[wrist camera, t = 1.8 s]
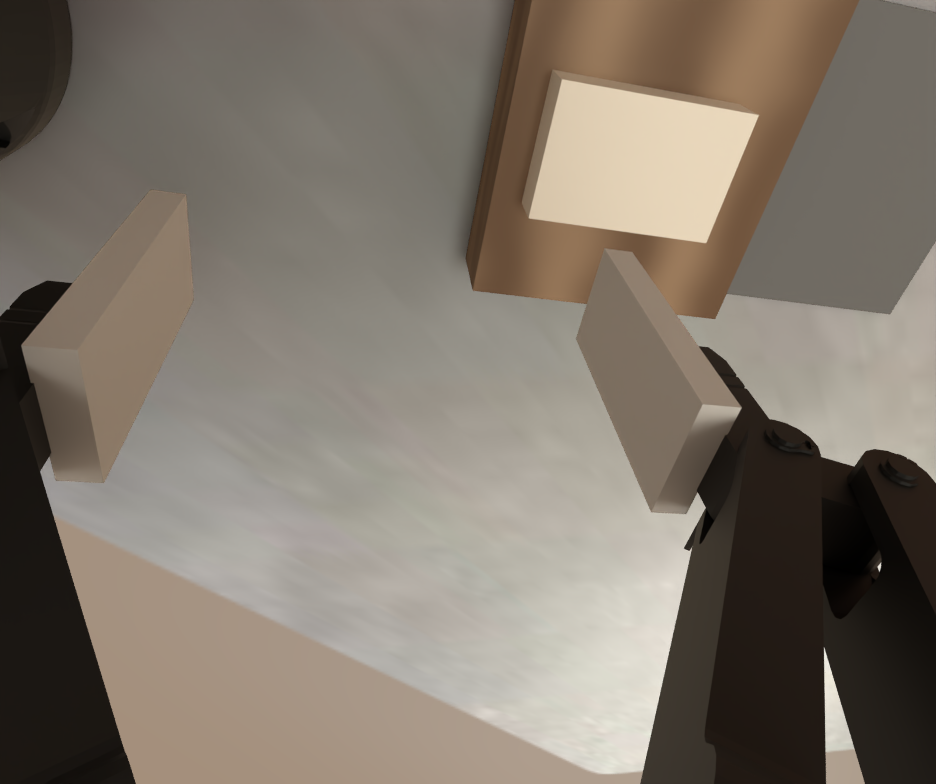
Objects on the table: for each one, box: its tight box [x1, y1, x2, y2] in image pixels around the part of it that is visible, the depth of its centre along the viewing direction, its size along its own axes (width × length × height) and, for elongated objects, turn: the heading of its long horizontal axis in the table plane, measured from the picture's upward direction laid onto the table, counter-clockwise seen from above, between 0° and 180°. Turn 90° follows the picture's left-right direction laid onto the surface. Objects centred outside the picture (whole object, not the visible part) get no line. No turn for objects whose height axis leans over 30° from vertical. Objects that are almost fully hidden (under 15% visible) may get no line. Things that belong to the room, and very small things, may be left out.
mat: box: [727, 0, 936, 314], centre depth 37 cm, size 14×16×1 cm
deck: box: [466, 0, 859, 319], centre depth 33 cm, size 14×16×4 cm
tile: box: [522, 70, 759, 243], centre depth 30 cm, size 9×6×2 cm, turn 80°
